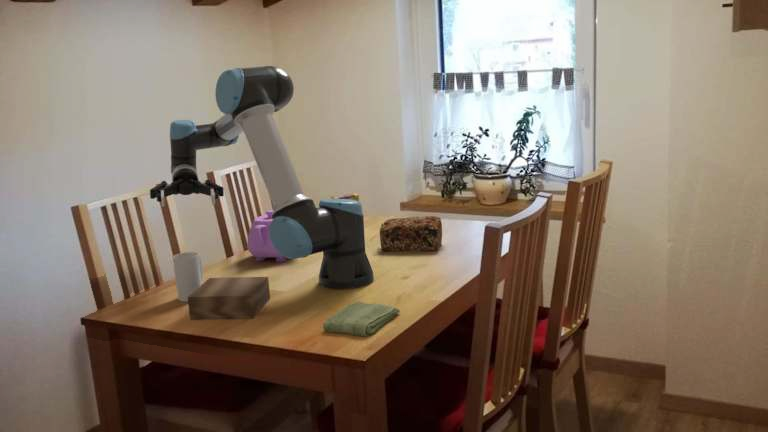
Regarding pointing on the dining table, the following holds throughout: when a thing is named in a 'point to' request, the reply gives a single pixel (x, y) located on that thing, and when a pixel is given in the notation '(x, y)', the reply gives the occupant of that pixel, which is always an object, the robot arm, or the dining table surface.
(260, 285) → the walnut block
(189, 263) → the mug
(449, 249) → the dining table surface
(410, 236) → the bread
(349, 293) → the dining table surface
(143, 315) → the dining table surface
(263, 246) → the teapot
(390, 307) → the washcloth
